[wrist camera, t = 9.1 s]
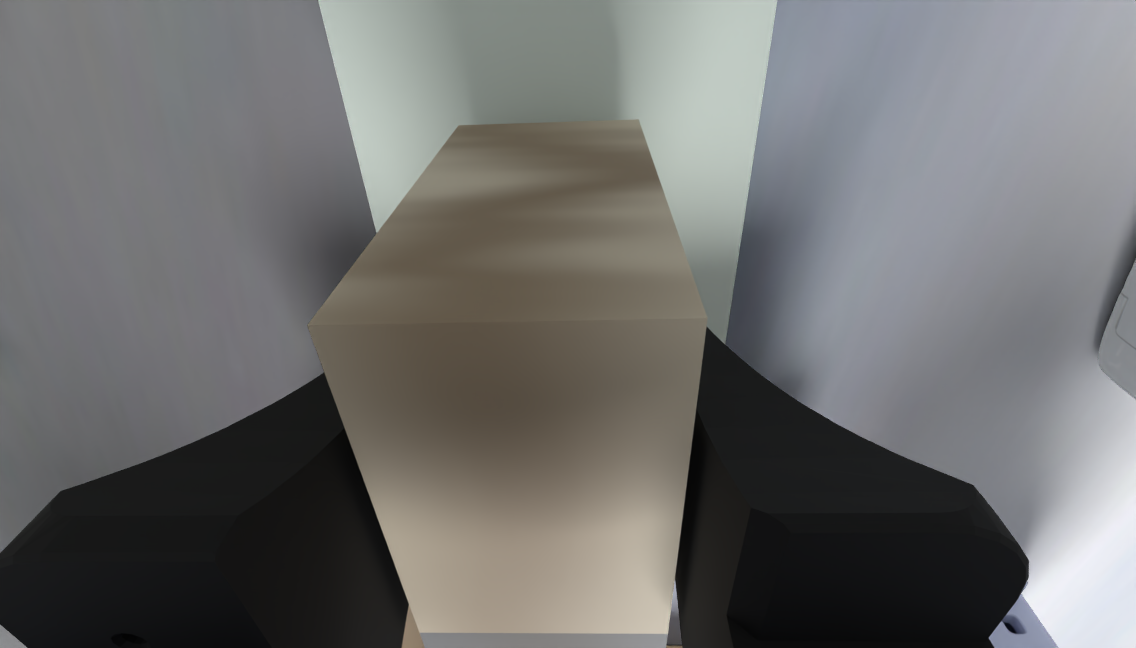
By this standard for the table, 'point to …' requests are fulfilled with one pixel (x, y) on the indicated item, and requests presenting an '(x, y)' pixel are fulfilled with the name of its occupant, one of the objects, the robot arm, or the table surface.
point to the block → (525, 387)
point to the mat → (567, 95)
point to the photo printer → (1121, 339)
